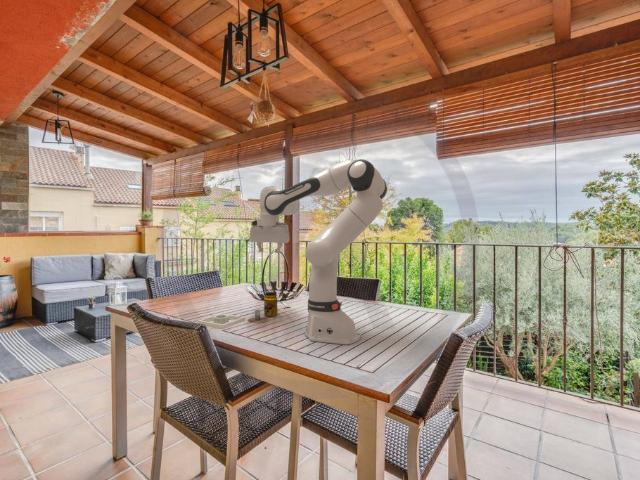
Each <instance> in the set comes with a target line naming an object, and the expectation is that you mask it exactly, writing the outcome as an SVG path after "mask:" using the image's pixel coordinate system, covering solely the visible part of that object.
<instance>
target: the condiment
mask: <svg viewBox="0 0 640 480" xmlns="http://www.w3.org/2000/svg"><path fill="white" fill-rule="evenodd" d="M263 300H264V301H263V305H264V307H263V308H264V309H263V313H264V314H263V315H264V318H275V317H277V316H278V298H277V292H276V291H266V292H265V293H264V299H263Z"/></svg>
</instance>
